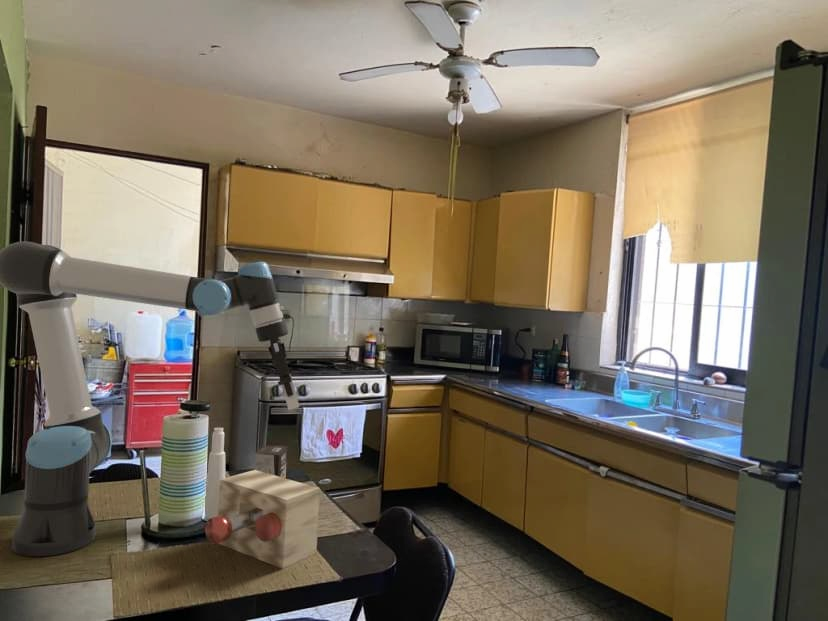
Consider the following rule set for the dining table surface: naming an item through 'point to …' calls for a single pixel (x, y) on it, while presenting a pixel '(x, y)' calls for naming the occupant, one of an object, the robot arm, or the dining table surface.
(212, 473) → the cosmetic bottle
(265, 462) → the coffee box
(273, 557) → the block
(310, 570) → the dining table surface
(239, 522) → the knob
